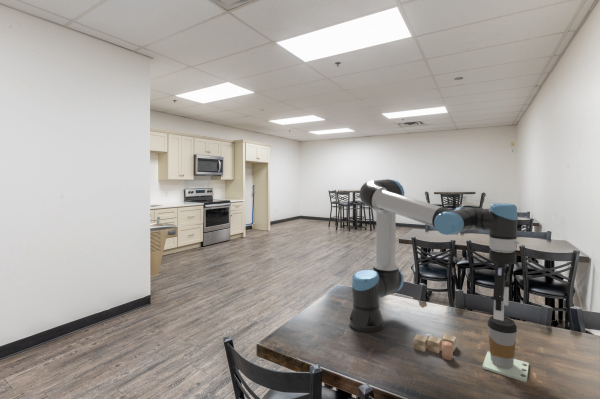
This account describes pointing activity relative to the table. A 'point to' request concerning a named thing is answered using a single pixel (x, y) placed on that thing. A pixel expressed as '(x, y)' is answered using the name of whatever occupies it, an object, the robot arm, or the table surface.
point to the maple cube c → (450, 340)
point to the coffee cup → (502, 341)
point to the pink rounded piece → (447, 350)
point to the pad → (516, 371)
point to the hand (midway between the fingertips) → (501, 311)
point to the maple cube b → (434, 344)
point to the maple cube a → (420, 343)
